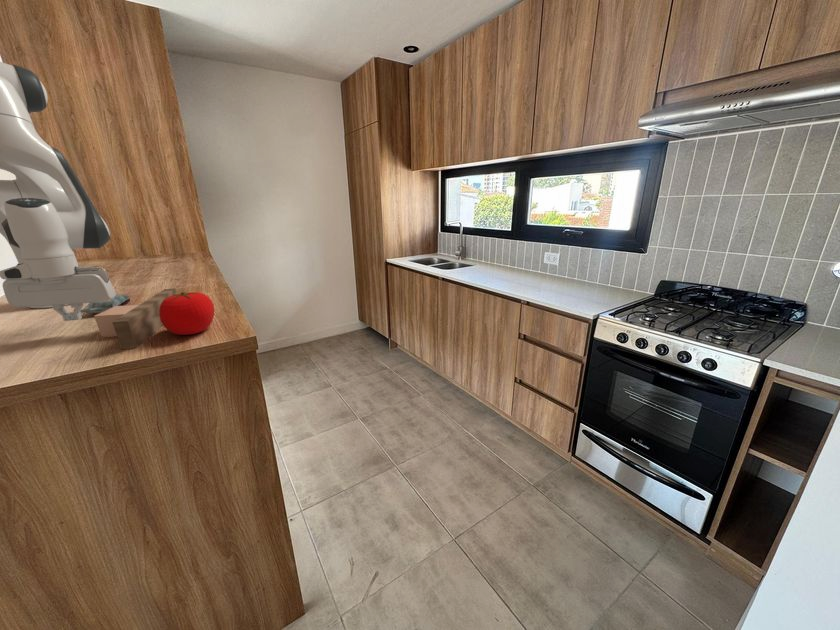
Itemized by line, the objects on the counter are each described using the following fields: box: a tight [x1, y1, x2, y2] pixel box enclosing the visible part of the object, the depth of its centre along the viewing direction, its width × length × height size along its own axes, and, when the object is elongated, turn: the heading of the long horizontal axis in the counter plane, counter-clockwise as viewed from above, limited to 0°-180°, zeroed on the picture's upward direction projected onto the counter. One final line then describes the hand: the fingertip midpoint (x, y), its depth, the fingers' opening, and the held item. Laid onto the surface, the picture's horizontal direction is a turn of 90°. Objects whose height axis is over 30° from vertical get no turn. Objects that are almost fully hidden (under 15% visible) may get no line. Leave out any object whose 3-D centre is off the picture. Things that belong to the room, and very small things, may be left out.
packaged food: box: [80, 294, 131, 315], centre depth 104 cm, size 9×12×5 cm
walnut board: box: [112, 288, 178, 350], centre depth 91 cm, size 30×3×7 cm, turn 17°
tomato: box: [159, 291, 215, 336], centre depth 87 cm, size 12×13×11 cm
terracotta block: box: [93, 304, 140, 338], centre depth 89 cm, size 8×8×6 cm
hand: (73, 319), depth 86 cm, fingers closed
